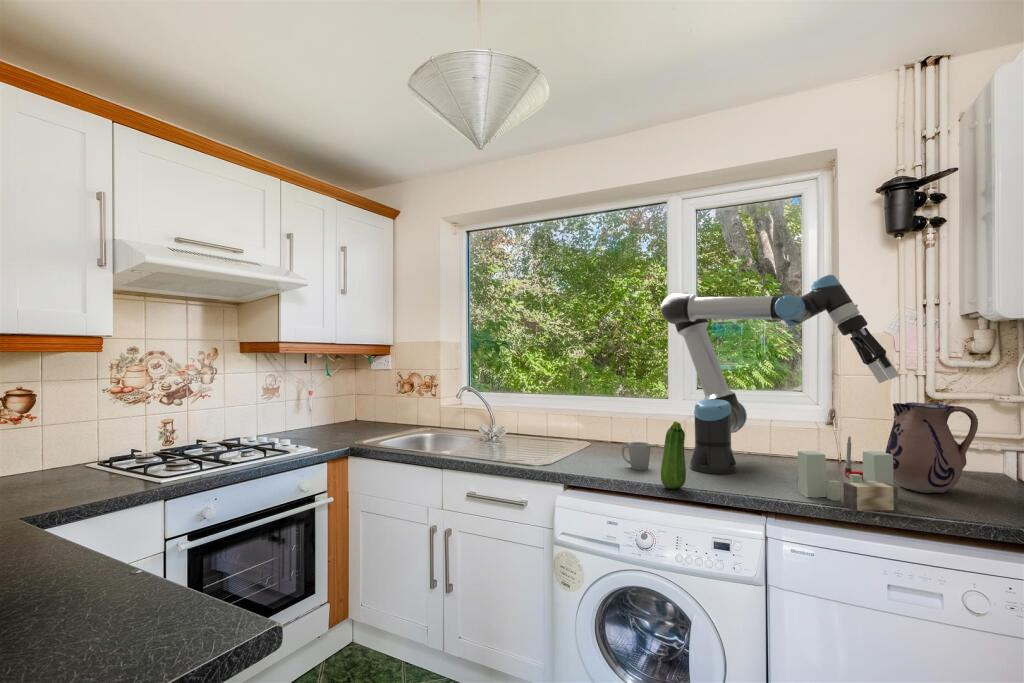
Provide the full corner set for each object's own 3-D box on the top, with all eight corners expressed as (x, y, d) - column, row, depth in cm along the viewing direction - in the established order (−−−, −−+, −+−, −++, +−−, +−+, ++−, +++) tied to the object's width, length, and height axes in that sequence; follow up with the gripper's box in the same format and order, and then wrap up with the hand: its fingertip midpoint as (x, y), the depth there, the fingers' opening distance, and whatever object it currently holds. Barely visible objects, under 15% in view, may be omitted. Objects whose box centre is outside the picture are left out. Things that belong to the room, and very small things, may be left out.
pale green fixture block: (876, 491, 147) (876, 450, 147) (898, 501, 138) (898, 456, 138) (850, 491, 147) (849, 449, 147) (870, 500, 138) (869, 456, 138)
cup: (647, 472, 172) (647, 446, 172) (619, 468, 177) (618, 444, 177) (653, 467, 178) (653, 443, 179) (625, 464, 184) (625, 440, 184)
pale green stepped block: (811, 500, 139) (810, 456, 139) (794, 490, 148) (794, 449, 148) (839, 500, 139) (839, 456, 139) (821, 491, 148) (820, 449, 148)
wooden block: (853, 510, 130) (852, 486, 130) (843, 505, 134) (843, 482, 134) (897, 510, 130) (897, 487, 130) (887, 506, 134) (886, 483, 134)
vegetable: (655, 486, 154) (655, 420, 154) (676, 484, 156) (675, 419, 156) (669, 492, 147) (668, 423, 147) (691, 490, 149) (690, 422, 149)
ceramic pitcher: (878, 479, 160) (876, 400, 161) (962, 486, 152) (960, 402, 153) (895, 494, 144) (893, 405, 145) (991, 502, 136) (989, 408, 137)
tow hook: (876, 476, 166) (842, 472, 170) (877, 437, 166) (844, 434, 169) (882, 483, 158) (847, 478, 162) (884, 441, 158) (848, 438, 162)
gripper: (868, 305, 149) (913, 369, 142) (853, 321, 171) (892, 377, 164) (842, 317, 151) (885, 381, 144) (831, 331, 173) (867, 388, 167)
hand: (889, 379), depth 154 cm, fingers open, 13 cm apart
